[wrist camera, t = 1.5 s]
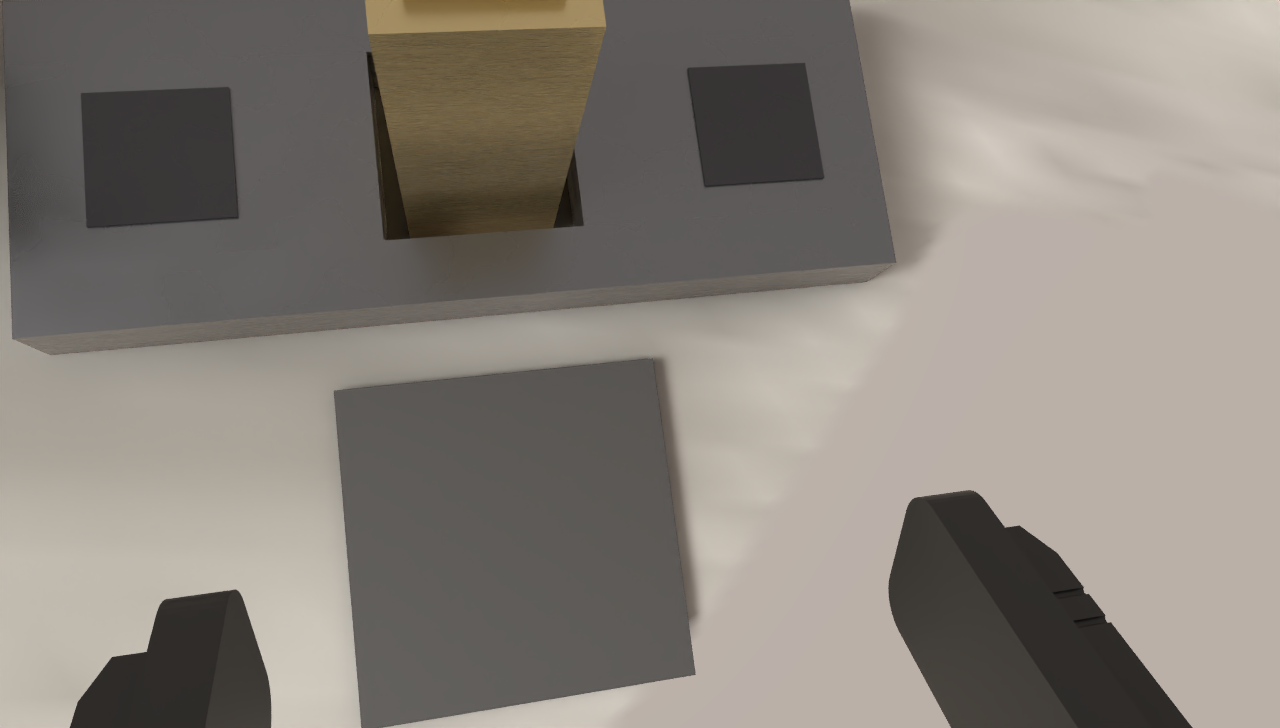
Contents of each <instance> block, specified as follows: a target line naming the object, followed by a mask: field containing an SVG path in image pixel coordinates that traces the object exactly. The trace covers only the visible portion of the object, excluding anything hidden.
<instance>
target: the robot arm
mask: <svg viewBox="0 0 1280 728" xmlns="http://www.w3.org/2000/svg"><path fill="white" fill-rule="evenodd" d="M1083 588H1084V587H1083V586H1082V585H1081V583H1080V582H1079V581H1078V579H1077V578H1076V577H1075V576H1074V574H1073V573H1072V572H1071V570H1070V569H1069V568H1068V567H1067V565H1066V564H1065V563H1064V561H1063V560H1062V559H1061V557H1060V556H1059V555H1058V554H1057V553H1056V552H1055V551H1054V550H1052V549H1051V548H1049V547H1048V546H1046V545H1045V544H1044V543H1042V542H1041V541H1040V540H1038V539H1037V538H1036V537H1034V536H1033V535H1031V534H1030V533H1028V532H1027V531H1026V530H1025V529H1023V528H1022V527H1021V526H1014V527H1007V528H1005V527H1004V526H1003V525H1002V523H1001V522H1000V520H999V519H998V518H997V516H996V515H995V514H994V512H993V511H992V510H991V508H990V507H989V505H988V504H987V503H986V502H985V500H984V499H983V498H982V497H981V496H980V495H979V494H978V493H976V492H974V491H971V490H968V491H960V492H953V493H946V494H939V495H931V496H924V497H917V498H914V499H912V501H911V502H910V503H909V505H908V507H907V510H906V514H905V518H904V522H903V527H902V530H901V534H900V539H899V542H898V546H897V550H896V554H895V559H894V562H893V566H892V570H891V574H890V579H889V601H890V606H891V611H892V615H893V617H894V621H895V623H896V626H897V628H898V630H899V632H900V634H901V636H902V637H903V639H904V641H905V643H906V645H907V647H908V648H909V650H910V652H911V654H912V656H913V658H914V660H915V662H916V663H917V665H918V667H919V669H920V671H921V673H922V674H923V676H924V678H925V680H926V682H927V684H928V686H929V687H930V689H931V691H932V693H933V695H934V697H935V698H936V700H937V702H938V704H939V706H940V708H941V710H942V712H943V713H944V715H945V717H946V719H947V721H948V723H949V724H950V726H951V728H1192V727H1191V725H1190V724H1189V723H1188V722H1187V720H1186V719H1185V718H1184V716H1183V715H1182V714H1181V713H1180V711H1179V710H1178V709H1177V707H1176V706H1175V705H1174V703H1173V702H1172V701H1171V700H1170V698H1169V697H1168V696H1167V694H1166V693H1165V692H1164V691H1163V689H1162V688H1161V687H1160V685H1159V684H1158V683H1157V682H1156V680H1155V679H1154V678H1153V676H1152V675H1151V674H1150V673H1149V671H1148V670H1147V669H1146V668H1145V666H1144V665H1143V663H1142V662H1141V661H1140V660H1139V658H1138V657H1137V656H1136V654H1135V653H1134V652H1133V651H1132V649H1131V648H1130V647H1129V645H1128V644H1127V643H1126V642H1125V640H1124V639H1123V638H1122V636H1121V635H1120V634H1119V632H1118V631H1117V630H1116V628H1115V627H1114V626H1113V625H1112V623H1107V622H1106V620H1105V614H1104V613H1103V612H1102V611H1101V609H1100V608H1099V607H1098V605H1097V604H1096V603H1095V601H1094V600H1093V599H1092V598H1091V596H1090V595H1089V594H1085V593H1084V590H1083ZM70 728H271V695H270V687H269V681H268V676H267V672H266V669H265V666H264V663H263V660H262V657H261V654H260V650H259V647H258V644H257V641H256V638H255V635H254V632H253V629H252V626H251V623H250V620H249V616H248V613H247V610H246V607H245V604H244V601H243V598H242V596H241V594H240V593H239V591H237V590H230V591H223V592H215V593H208V594H201V595H194V596H186V597H179V598H172V599H166V600H164V601H163V602H162V603H161V604H160V606H159V609H158V611H157V614H156V618H155V622H154V626H153V630H152V634H151V637H150V641H149V645H148V649H147V652H144V653H137V654H130V655H123V656H117V657H112V658H111V659H110V661H109V662H108V663H107V665H106V666H105V667H104V669H103V670H102V671H101V672H100V674H99V675H98V676H97V678H96V679H95V680H94V682H93V683H92V684H91V686H90V687H89V688H88V690H87V691H86V692H85V693H84V695H83V696H82V697H81V699H80V700H79V701H78V703H77V707H76V710H75V713H74V716H73V719H72V723H71V726H70Z"/></svg>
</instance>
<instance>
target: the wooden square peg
mask: <svg viewBox="0 0 1280 728" xmlns="http://www.w3.org/2000/svg"><path fill="white" fill-rule="evenodd" d="M365 6H366V16H367V27H368V36H369V41H370V46H371V50H372V55H373V60H374V65H375V70H376V75H377V79H378V84H379V89H380V94H381V99H382V104H383V108H384V113H385V118H386V123H387V128H388V133H389V138H390V142H391V147H392V152H393V157H394V162H395V167H396V171H397V176H398V181H399V186H400V191H401V196H402V200H403V205H404V210H405V215H406V220H407V225H408V229H409V234H410V239H412V238H425V237H439V236H453V235H466V234H480V233H494V232H507V231H521V230H535V229H548V228H553V226H554V223H555V219H556V215H557V211H558V207H559V204H560V200H561V196H562V192H563V189H564V185H565V181H566V177H567V173H568V170H569V166H570V162H571V158H572V155H573V151H574V147H575V143H576V139H577V136H578V132H579V128H580V124H581V121H582V117H583V113H584V109H585V105H586V102H587V98H588V94H589V90H590V87H591V83H592V79H593V75H594V71H595V68H596V64H597V60H598V56H599V53H600V49H601V45H602V41H603V37H604V34H605V30H606V20H605V13H604V6H603V0H365Z"/></svg>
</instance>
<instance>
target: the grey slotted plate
mask: <svg viewBox="0 0 1280 728" xmlns="http://www.w3.org/2000/svg"><path fill="white" fill-rule="evenodd" d="M2 1H3V35H4V70H5V104H6V138H7V172H8V206H9V240H10V274H11V308H12V339H14V340H17V341H19V342H21V343H24V344H26V345H28V346H31V347H33V348H35V349H38V350H40V351H42V352H45V353H47V354H49V355H55V354H66V353H78V352H89V351H100V350H111V349H122V348H133V347H144V346H156V345H167V344H178V343H189V342H200V341H211V340H223V339H234V338H245V337H256V336H267V335H278V334H289V333H301V332H312V331H323V330H334V329H345V328H356V327H367V326H379V325H390V324H401V323H412V322H423V321H434V320H445V319H457V318H468V317H479V316H490V315H501V314H512V313H523V312H535V311H546V310H557V309H568V308H579V307H590V306H602V305H613V304H624V303H635V302H646V301H657V300H668V299H680V298H691V297H702V296H713V295H724V294H735V293H746V292H758V291H769V290H780V289H791V288H802V287H813V286H824V285H836V284H847V283H858V282H867V281H868V280H870V279H871V278H873V277H874V276H876V275H878V274H879V273H881V272H882V271H884V270H885V269H887V268H888V267H890V266H892V265H893V264H895V263H896V259H895V254H894V248H893V243H892V237H891V231H890V226H889V220H888V215H887V209H886V203H885V198H884V192H883V187H882V181H881V175H880V170H879V164H878V159H877V153H876V147H875V142H874V136H873V131H872V125H871V119H870V114H869V108H868V103H867V97H866V91H865V86H864V80H863V75H862V69H861V63H860V58H859V52H858V47H857V41H856V35H855V30H854V24H853V19H852V13H851V7H850V2H849V0H603V6H604V13H605V20H606V30H605V34H604V37H603V41H602V45H601V49H600V53H599V56H598V60H597V64H596V68H595V71H594V75H593V79H592V83H591V87H590V90H589V94H588V98H587V102H586V105H585V109H584V113H583V117H582V121H581V124H580V128H579V132H578V136H577V139H576V143H575V147H574V151H573V155H572V158H571V162H570V166H569V170H568V173H567V181H568V189H569V197H570V205H571V213H572V221H573V227H562V228H548V229H535V230H521V231H507V232H494V233H480V234H466V235H453V236H439V237H425V238H412V239H398V240H388V232H387V221H386V210H385V199H384V189H383V178H382V167H381V157H380V146H379V135H378V124H377V114H376V103H375V92H374V88H379V84H378V79H377V75H376V70H375V65H374V60H373V55H372V50H371V46H370V41H369V36H368V27H367V16H366V6H365V0H2Z"/></svg>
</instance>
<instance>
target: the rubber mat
mask: <svg viewBox="0 0 1280 728" xmlns="http://www.w3.org/2000/svg"><path fill="white" fill-rule="evenodd" d="M334 398H335V410H336V422H337V435H338V447H339V459H340V471H341V483H342V495H343V508H344V520H345V532H346V544H347V556H348V569H349V581H350V593H351V605H352V617H353V629H354V642H355V654H356V666H357V678H358V690H359V703H360V715H361V727H362V728H382V727H388V726H394V725H400V724H406V723H412V722H418V721H424V720H430V719H436V718H442V717H448V716H453V715H459V714H465V713H471V712H477V711H483V710H489V709H495V708H501V707H507V706H513V705H519V704H525V703H531V702H537V701H543V700H548V699H554V698H560V697H566V696H572V695H578V694H584V693H590V692H596V691H602V690H608V689H614V688H620V687H626V686H632V685H637V684H643V683H649V682H655V681H661V680H667V679H673V678H679V677H685V676H691V675H695V668H694V660H693V652H692V645H691V637H690V630H689V623H688V615H687V608H686V600H685V593H684V586H683V578H682V571H681V564H680V556H679V549H678V541H677V534H676V527H675V519H674V512H673V504H672V497H671V490H670V482H669V475H668V467H667V460H666V453H665V445H664V438H663V431H662V423H661V416H660V408H659V401H658V394H657V386H656V379H655V371H654V364H653V358H652V359H642V360H632V361H623V362H613V363H603V364H593V365H583V366H573V367H563V368H554V369H544V370H534V371H524V372H514V373H504V374H495V375H485V376H475V377H465V378H455V379H445V380H435V381H426V382H416V383H406V384H396V385H386V386H376V387H367V388H357V389H347V390H337V391H334Z"/></svg>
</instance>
